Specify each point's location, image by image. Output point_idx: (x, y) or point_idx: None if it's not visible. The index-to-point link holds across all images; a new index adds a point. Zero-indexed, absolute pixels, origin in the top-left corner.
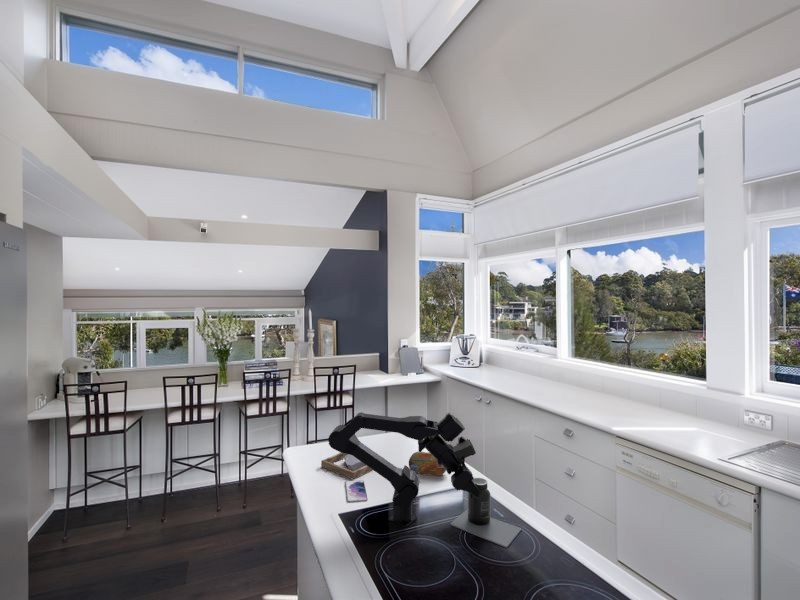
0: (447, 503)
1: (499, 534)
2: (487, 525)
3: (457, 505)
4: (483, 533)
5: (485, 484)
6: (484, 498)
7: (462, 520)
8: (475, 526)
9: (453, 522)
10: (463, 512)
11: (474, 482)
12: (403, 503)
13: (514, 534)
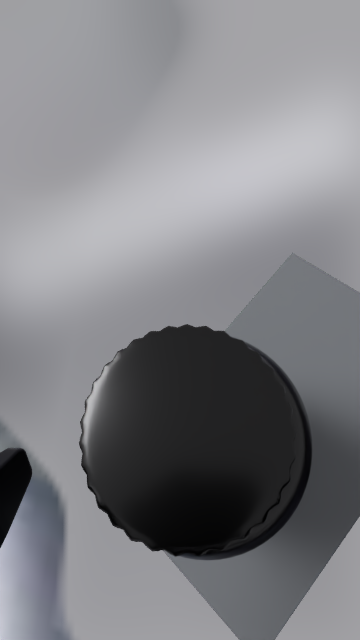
0: (12, 590)
1: (354, 364)
2: None
3: (46, 525)
4: (356, 451)
5: (261, 362)
6: (305, 409)
7: None
8: None
9: (243, 627)
10: None
11: (221, 521)
12: None
13: (345, 293)
